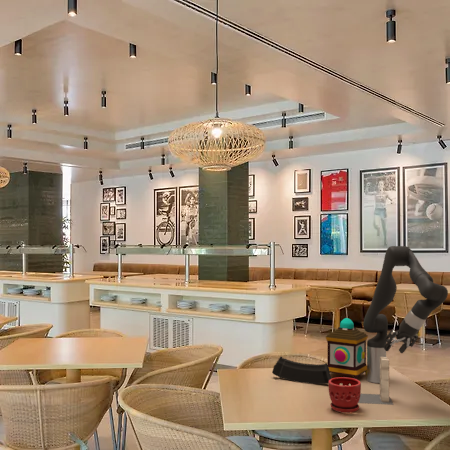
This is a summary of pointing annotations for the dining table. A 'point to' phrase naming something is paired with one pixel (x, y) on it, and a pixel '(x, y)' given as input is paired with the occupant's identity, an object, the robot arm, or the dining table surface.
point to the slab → (384, 379)
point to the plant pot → (344, 394)
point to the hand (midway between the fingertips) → (393, 350)
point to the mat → (373, 399)
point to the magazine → (302, 372)
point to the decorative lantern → (347, 350)
